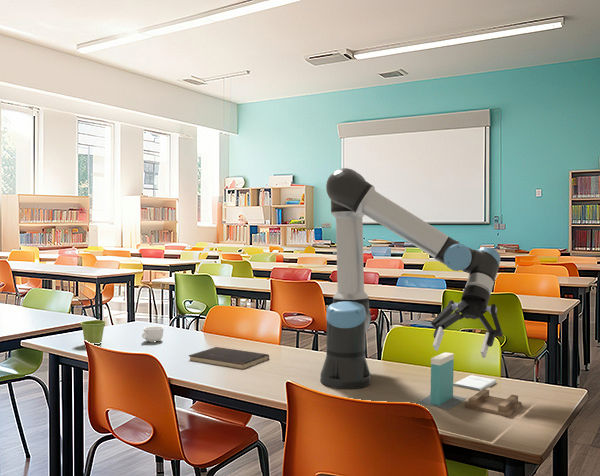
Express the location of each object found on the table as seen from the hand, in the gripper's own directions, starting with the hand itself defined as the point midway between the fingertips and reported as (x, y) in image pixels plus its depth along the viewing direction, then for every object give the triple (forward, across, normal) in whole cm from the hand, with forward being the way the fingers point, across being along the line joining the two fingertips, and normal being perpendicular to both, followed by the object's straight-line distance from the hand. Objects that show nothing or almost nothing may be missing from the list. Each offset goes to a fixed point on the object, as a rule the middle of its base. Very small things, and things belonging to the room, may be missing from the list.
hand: (458, 351), depth 153 cm
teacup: (+14, +123, -3) cm, 124 cm away
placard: (+14, +1, -3) cm, 14 cm away
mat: (+14, +1, -3) cm, 15 cm away
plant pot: (+26, +137, +10) cm, 140 cm away
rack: (+12, -11, -6) cm, 17 cm away
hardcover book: (+16, +79, -2) cm, 80 cm away
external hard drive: (0, 0, -19) cm, 19 cm away
